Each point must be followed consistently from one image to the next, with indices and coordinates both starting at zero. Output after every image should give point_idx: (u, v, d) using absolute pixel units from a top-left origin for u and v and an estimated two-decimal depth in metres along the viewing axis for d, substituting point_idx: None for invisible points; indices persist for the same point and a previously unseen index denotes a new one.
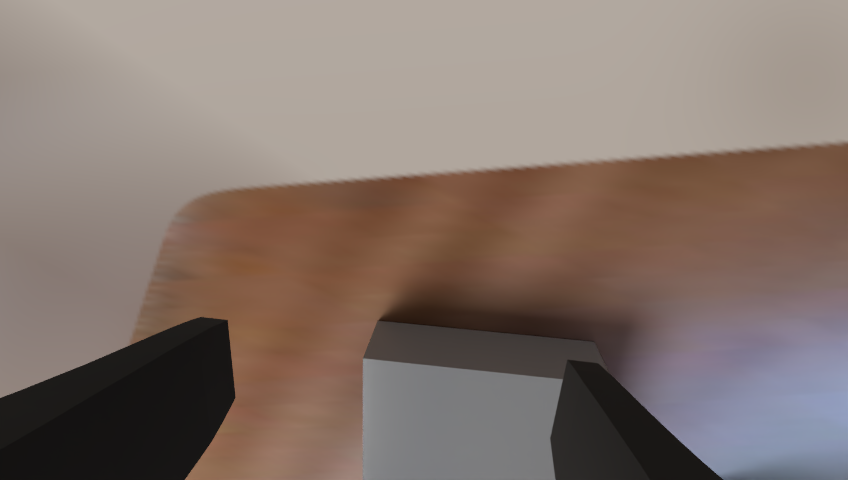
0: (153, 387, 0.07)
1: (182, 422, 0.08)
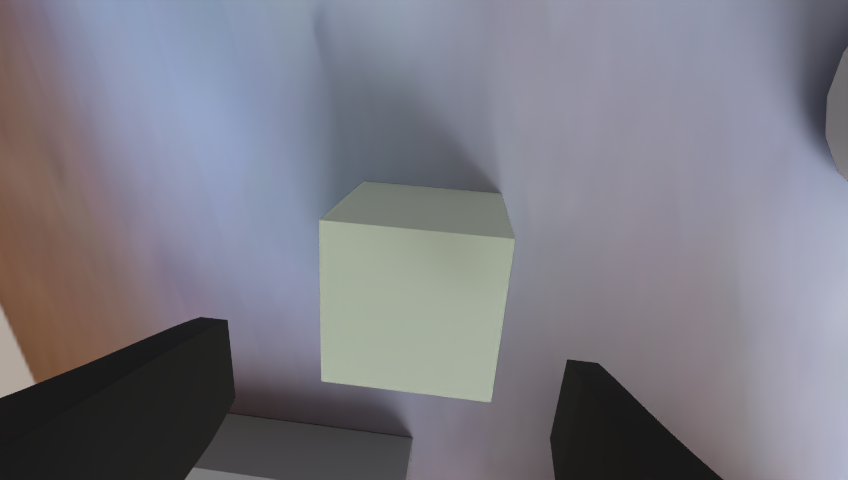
0: (153, 387, 0.07)
1: (182, 422, 0.08)
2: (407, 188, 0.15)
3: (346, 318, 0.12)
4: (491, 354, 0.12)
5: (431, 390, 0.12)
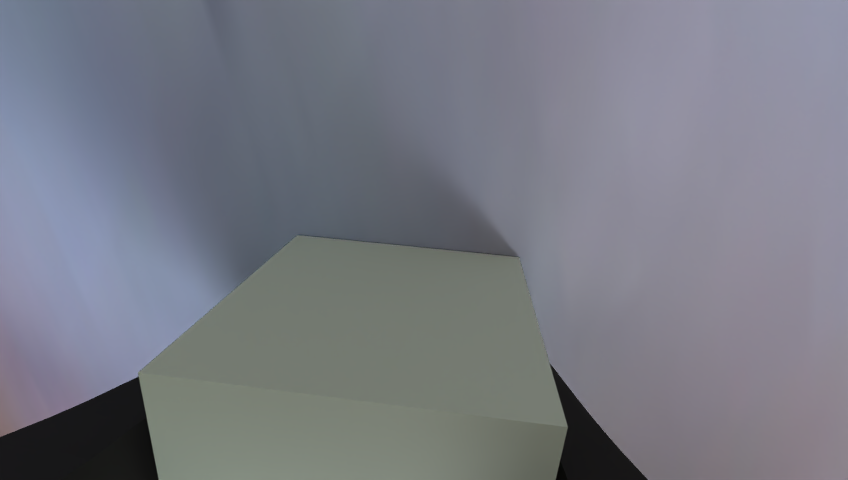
0: None
1: None
2: (364, 252, 0.09)
3: None
4: None
5: None
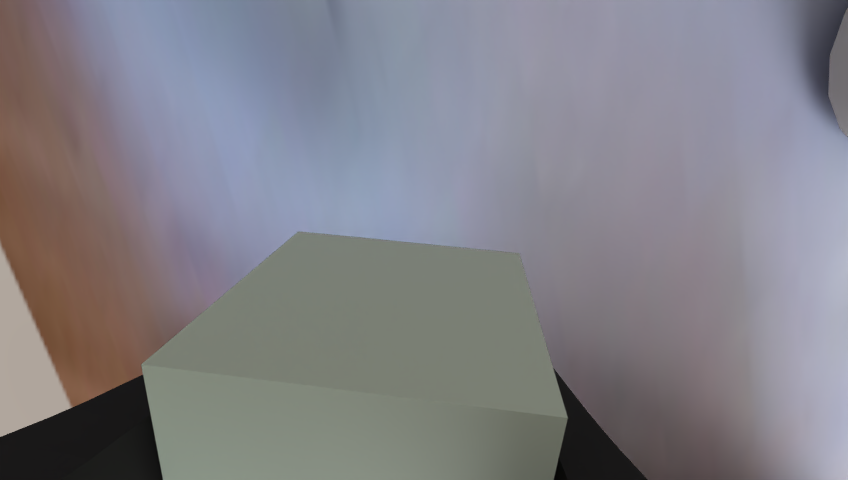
0: None
1: None
2: (365, 248, 0.09)
3: None
4: None
5: None
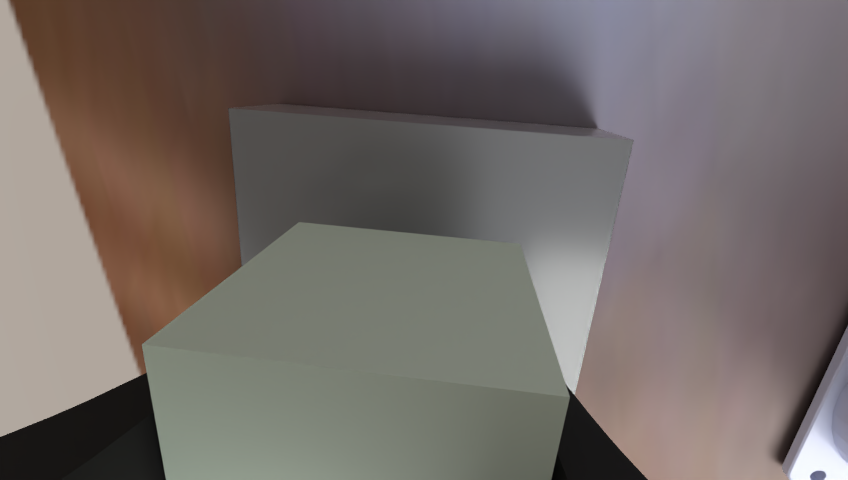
0: None
1: None
2: (365, 238, 0.09)
3: None
4: None
5: None
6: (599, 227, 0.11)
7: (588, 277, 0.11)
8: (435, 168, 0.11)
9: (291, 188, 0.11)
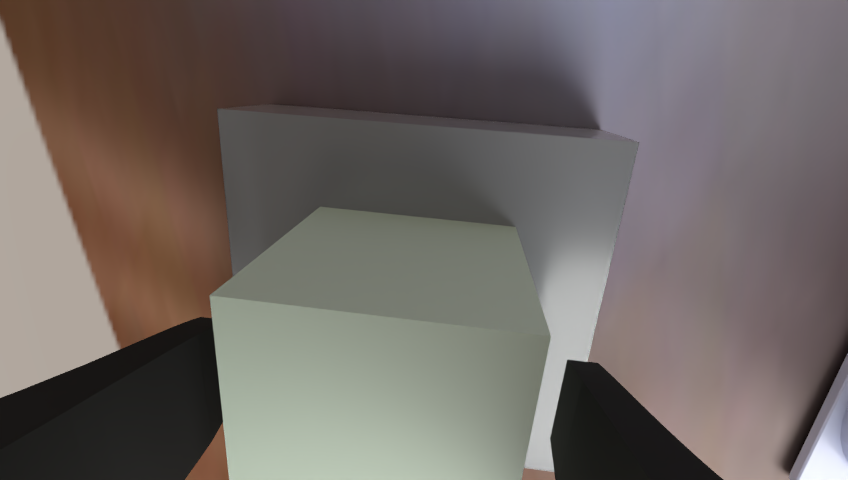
0: (153, 387, 0.07)
1: (182, 422, 0.08)
2: (380, 220, 0.10)
3: (268, 446, 0.07)
4: None
5: None
6: (603, 232, 0.11)
7: (591, 284, 0.11)
8: (432, 171, 0.10)
9: (283, 192, 0.11)
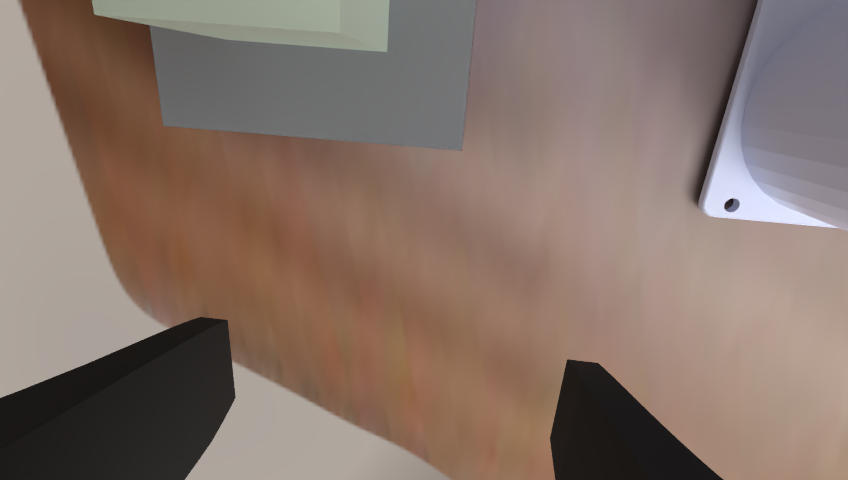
0: (153, 387, 0.07)
1: (182, 422, 0.08)
2: None
3: None
4: None
5: (252, 16, 0.08)
6: None
7: None
8: None
9: None
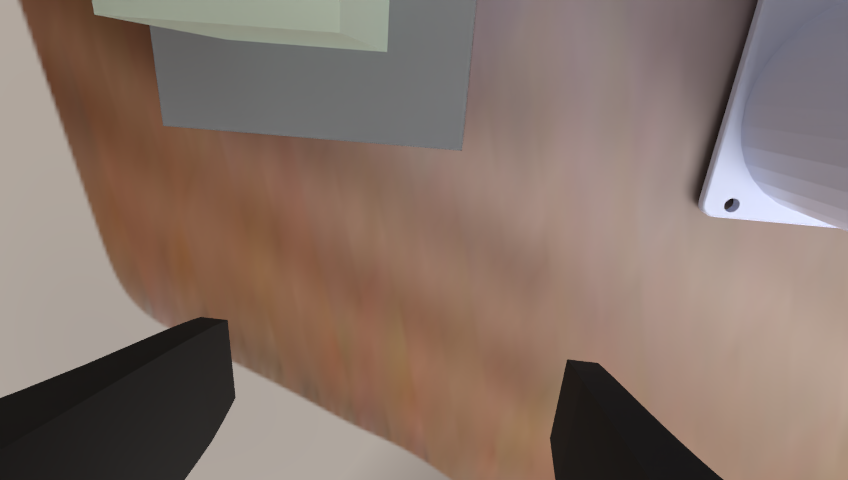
0: (153, 387, 0.07)
1: (182, 422, 0.08)
2: None
3: None
4: None
5: (252, 16, 0.08)
6: None
7: None
8: None
9: None
